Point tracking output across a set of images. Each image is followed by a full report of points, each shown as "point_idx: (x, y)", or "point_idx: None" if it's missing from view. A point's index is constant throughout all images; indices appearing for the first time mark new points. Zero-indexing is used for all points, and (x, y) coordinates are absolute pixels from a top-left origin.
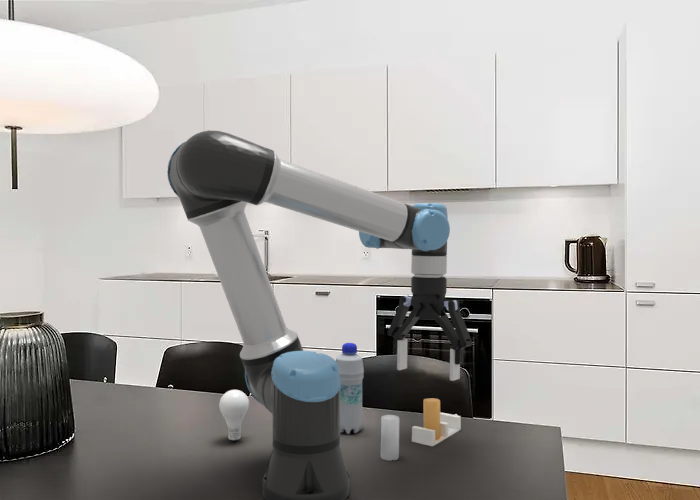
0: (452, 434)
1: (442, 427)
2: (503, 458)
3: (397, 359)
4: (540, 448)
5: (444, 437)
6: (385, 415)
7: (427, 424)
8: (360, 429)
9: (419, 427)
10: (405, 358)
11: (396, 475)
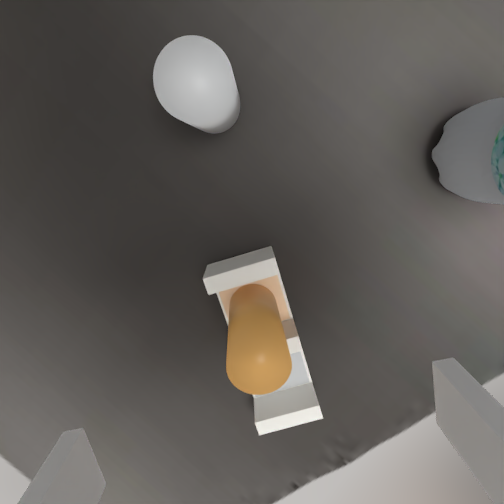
0: None
1: None
2: (43, 347)
3: (495, 401)
4: None
5: None
6: (229, 82)
7: (248, 301)
8: (439, 176)
9: (258, 274)
10: (474, 461)
11: (90, 23)
